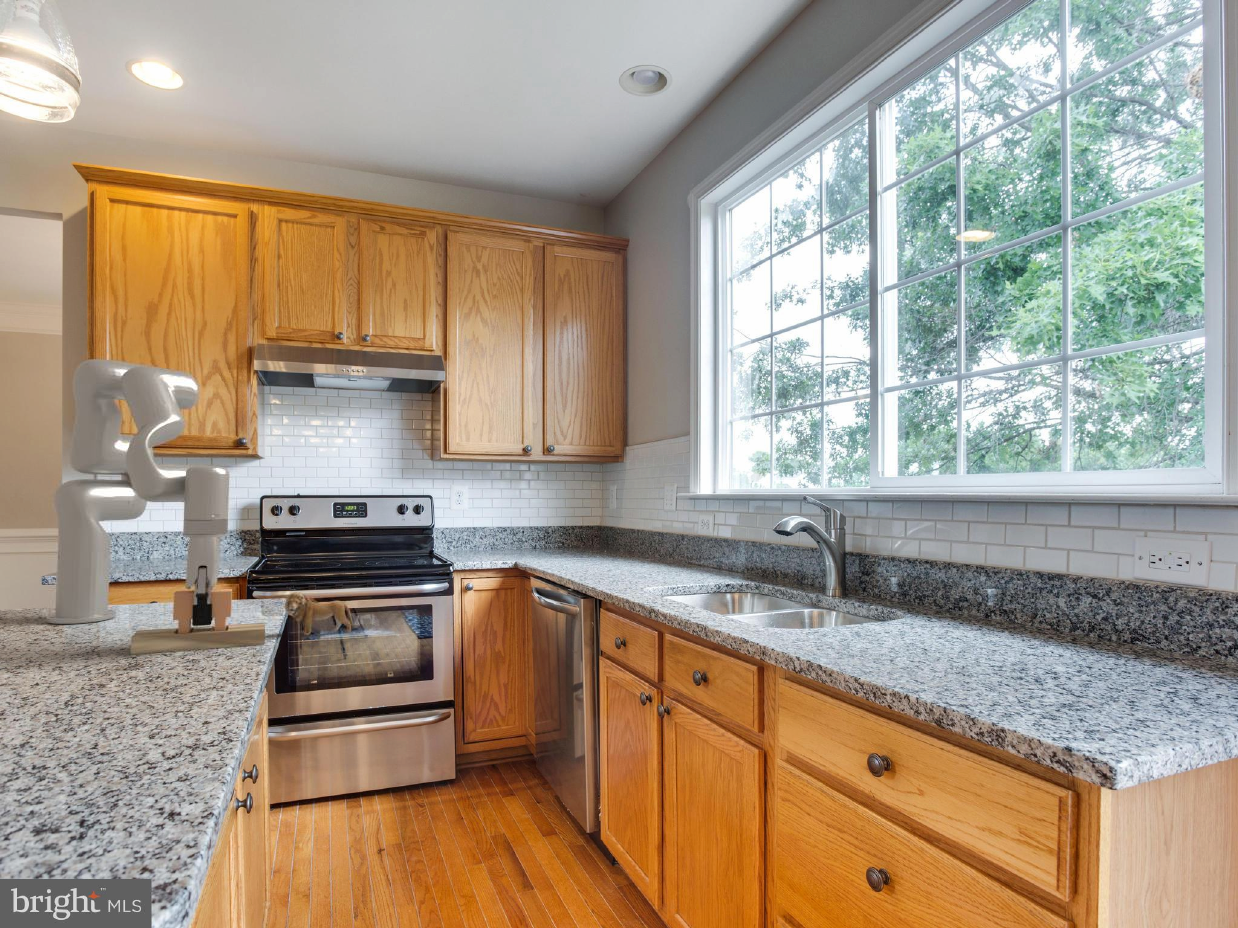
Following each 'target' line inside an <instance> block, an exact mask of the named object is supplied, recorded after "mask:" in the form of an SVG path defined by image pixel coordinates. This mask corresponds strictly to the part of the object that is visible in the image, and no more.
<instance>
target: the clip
mask: <svg viewBox="0 0 1238 928" xmlns="http://www.w3.org/2000/svg"><path fill="white" fill-rule="evenodd" d="M206 592H207V593H208V591H206ZM207 598H208V596H207ZM211 604H212V618H213V619H214V626H215V628H214V631H225V629H226V625H227V618H231V617H232V606H233V605H232V604H233V588H219V589H217V588H215V589H213V590H211ZM193 605H194V589H193V590H175V592H174V593H173V608H172V609H173V610H172V612H173V613H172V621H178V622H177V623H178V624H177V625H178V627H177V628H178V634H182V633H189V632H190V630H191V627H192V614H193Z"/></svg>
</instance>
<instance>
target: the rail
mask: <svg viewBox="0 0 1238 928" xmlns="http://www.w3.org/2000/svg"><path fill="white" fill-rule="evenodd" d="M214 628H215V625H204V626H191V630H190V632H189V633H182V634H178V627H174V628H158V629H157V628H156V629H144V630H142V629H141V630H136V632H135V633H134V634H133V635H132V636H131V638H130V639H131V640H130V655H142V654H155V653H168V652H182V651H183V652H184V651H194V650H196V651H197V650H209V649H222V648H235V647H238V648H239V647H247V646H248V647H250V646H251V647H252V646H263V645H265V644H266V640H265V639H266V622H259V623H258V622H257V623H256V622H255V623H239V624H238V623H237V624H226V629H225V631H214Z"/></svg>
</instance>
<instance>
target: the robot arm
mask: <svg viewBox="0 0 1238 928" xmlns="http://www.w3.org/2000/svg"><path fill="white" fill-rule="evenodd" d="M73 373H74V374H73V377H72V392H73V393H72V394H73V398H74V402H75V418H74V424H73V430H72V431H73V432H72V438H71V444H70V445H71V446H70V450H69V451H70V452H69V461H70V465H71V468H72V469H73V470H74V471H76V472H78V473H82V474H86V475H87V474H88V475H105V476H107V475H108V476H113V475H114V476H121V478H120V479H106V478H105V479H104V478H103V479H102V478H101V479H100V478H96V479H95V478H94V479H93V478H85V479H80V478H79V479H72V480H68V481H65V482H63V483H62V484H60V485H59V486H58V487H57V488H56V490H55V493H54V500H53V501H54V508H55V513H56V519H57V529H58V530H57V531H58V532H57V533H58V534H57V537H58V538H57V561H56V562H57V565H56V566H57V567H56V584H55V585H56V587H55V590H56V592H55V609H54V610H55V611H54V613H52V614H49V615H46V617H45V622H47V623H48V624H59V625H68V624H69V625H70V624H71V625H72V624H75V625H76V624H85V623H87V624H88V623H94V622H101V621H106V620H110V619H114V618H115V617H116V616H117V611H116V610H114V609H109V590H110V565H111V563H110V562H111V538H110V536H109V534H108V532H107V531H106V529H105V528H104V527H103V526H102V525H101V523H100V522H106V521H107V522H108V521H130V520H135V519H137V518H138V519H139V518H140V517H141V516H142V515H143V514H144V512H145V510H146V507H147V504H148V502H149V503H184V504H183V527H182V528H183V530H182V532H183V534H182V537H184V538H189V539H188V546H187V554H186V555H187V556H186V557H187V559H186V576H185V589H187V590H190V589H192V587H193V586H194V589H193V590H194V605H193V614H192V619H191V626H192V627H204V626H212V621H213V620H214V618H212V604H211V590H214V588H215V586H216V585H217V583H218V578H219V577H218V576H219V570H220V557H221V538H222V537H227V536H229V535H228V531H229V501H230V500H229V497H230V471H229V470H228V468H226V467H225V466H219V465H198V464H197V465H196V464H178V463H177V464H176V463H175V464H174V463H156V462H155V461H154V459H155V455H154V449H153V448H154V447H156V446H159V445H162V444H165V443H168V442H171V441H172V440H174V439H176V438H178V437H179V436H180V435H181V434H183V432H185V431H184V430H185V428H186V421H185V419H184V418H185V417H184V416H183V413H182V412H181V410H184V411H185V410H190V409H192V408H194V407H195V406H196V404H197V403H198V401H199V399H200V388H199V384H198V382H197V380H196V379H195V377H194V376H193V375H192V374H190V373H188V372H186V371H182V370H176V369H175V370H174V369H170V368H163V367H158V366H152V365H145V364H139V363H131V362H127V361H120V360H112V359H103V358H102V359H101V358H94V359H93V358H92V359H87V360H84V361H82V362H80V363H79V364H78V365H77V367H76V369H75V370H74V372H73ZM115 400H118V401H126V404H127V407H128V409H129V411H130V413H131V416H132V419H133V421H134V424H135V427H136V428H137V429H136V430H137V432H136V433H135V434H126V433H125V434H124V433H122V432H121V430H122V429H121V428H122V424H123V414H122V411H121V409H120V407H119V405H118V403H117V402H116V401H115ZM206 591H208V593H207V592H206ZM207 596H208V598H207Z"/></svg>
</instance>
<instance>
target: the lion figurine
mask: <svg viewBox="0 0 1238 928" xmlns="http://www.w3.org/2000/svg"><path fill="white" fill-rule="evenodd" d="M284 609H285V612H286V614H287V615H289V616H291V617H292V618H294V620H295V621H296V622H302V625H303V626H302V627H303V629H302V630H300V634H303V636H305V637H307V636H310V635H311V633H312V624H313V621H324V620H327V619H329V618H330V617H332V616H334V619H335V623H336V625H335V626H334V627H332V628H331V630H330V631H331V632H336V631H338V630H339V629H340V627H341V626H342V624H343V625H344V626H345V627H346V628H344V630H343V633H345V634H350V632H351V631H352V628H353V629H358V628H359V627H358V626H357V625H356V624H354V623H353V622H354V621H353V618H352V613H351V610H350V608H349V606H348V605H347V604H346V603H345V602H343V601H341V600H333V601H329V602H319V601H317V600H315V599H314V598H313V597H310V596H307V595H306V594H305V593H301V592H295V591H294V592H291V593H290V594H288V595H286V597H285V603H284ZM345 611H346V612H345ZM346 614H347V616H348V618H347V616H346Z"/></svg>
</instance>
